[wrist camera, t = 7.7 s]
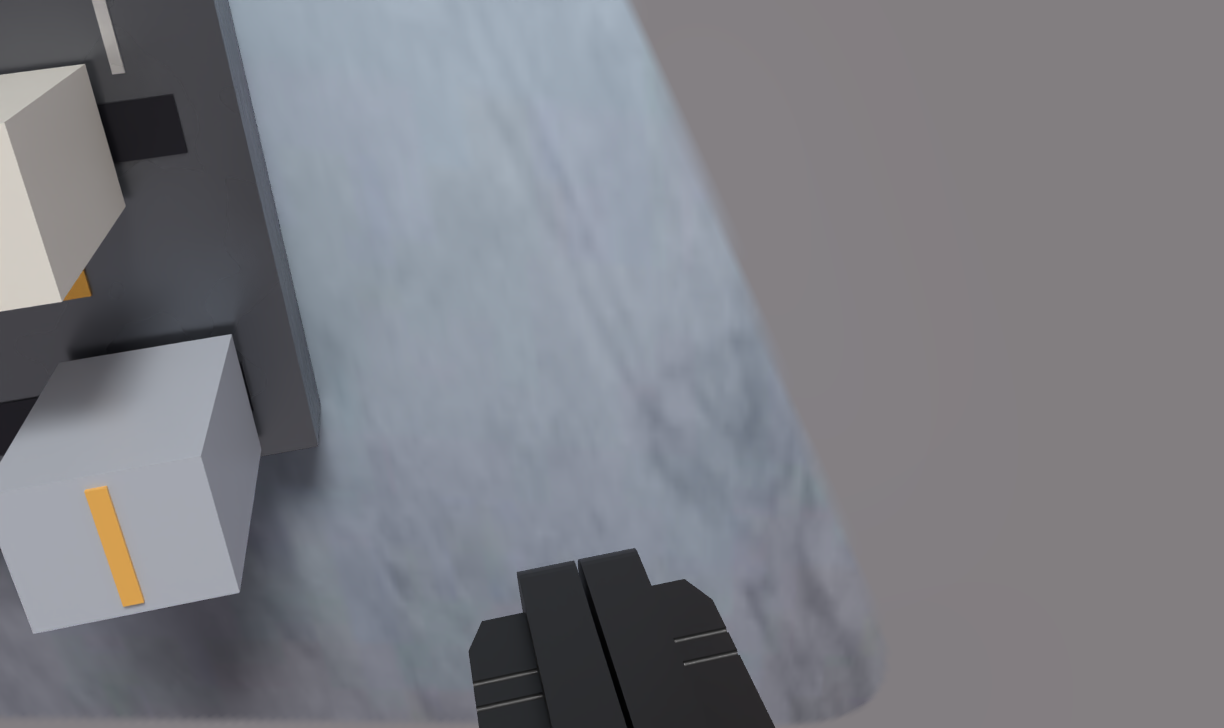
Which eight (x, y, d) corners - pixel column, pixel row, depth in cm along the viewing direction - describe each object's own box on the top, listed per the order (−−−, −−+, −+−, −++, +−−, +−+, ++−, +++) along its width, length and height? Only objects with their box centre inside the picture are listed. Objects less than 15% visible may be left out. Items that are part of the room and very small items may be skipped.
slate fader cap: (59, 362, 20) (-22, 498, 16) (231, 333, 21) (200, 458, 16) (97, 478, 21) (32, 636, 17) (260, 449, 22) (239, 595, 17)
